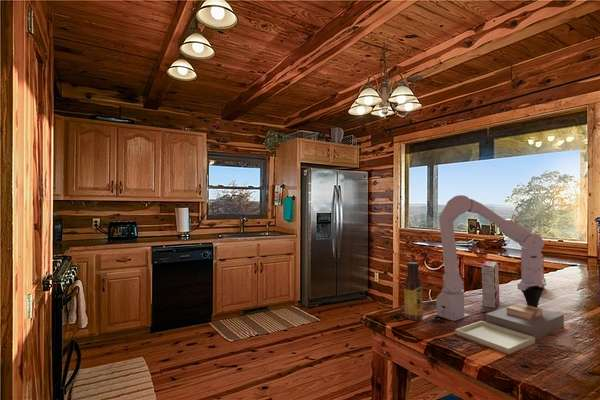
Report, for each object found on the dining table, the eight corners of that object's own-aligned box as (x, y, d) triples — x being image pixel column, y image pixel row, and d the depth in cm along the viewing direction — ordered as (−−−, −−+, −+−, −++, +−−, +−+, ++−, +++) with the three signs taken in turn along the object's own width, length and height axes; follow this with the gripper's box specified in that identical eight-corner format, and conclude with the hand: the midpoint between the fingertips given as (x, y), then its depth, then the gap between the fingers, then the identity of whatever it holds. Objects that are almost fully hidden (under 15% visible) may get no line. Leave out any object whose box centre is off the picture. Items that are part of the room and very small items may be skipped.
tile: (529, 319, 102) (529, 313, 102) (506, 313, 108) (506, 307, 108) (542, 314, 106) (542, 308, 106) (519, 309, 112) (519, 303, 112)
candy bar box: (485, 299, 137) (484, 260, 137) (499, 301, 134) (498, 261, 134) (481, 306, 128) (480, 265, 128) (496, 309, 125) (495, 266, 125)
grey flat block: (532, 340, 96) (532, 327, 96) (486, 325, 108) (485, 313, 108) (563, 326, 106) (563, 314, 106) (517, 314, 118) (517, 303, 118)
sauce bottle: (421, 322, 113) (419, 265, 113) (402, 319, 116) (401, 263, 116) (424, 316, 118) (423, 262, 118) (407, 313, 121) (406, 260, 122)
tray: (509, 354, 88) (508, 348, 88) (455, 334, 102) (455, 329, 102) (535, 342, 95) (534, 337, 95) (481, 325, 109) (481, 320, 109)
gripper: (533, 272, 103) (535, 315, 103) (555, 267, 110) (556, 307, 110) (510, 269, 109) (511, 309, 109) (532, 264, 116) (533, 302, 116)
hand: (532, 308), depth 110 cm, fingers closed
